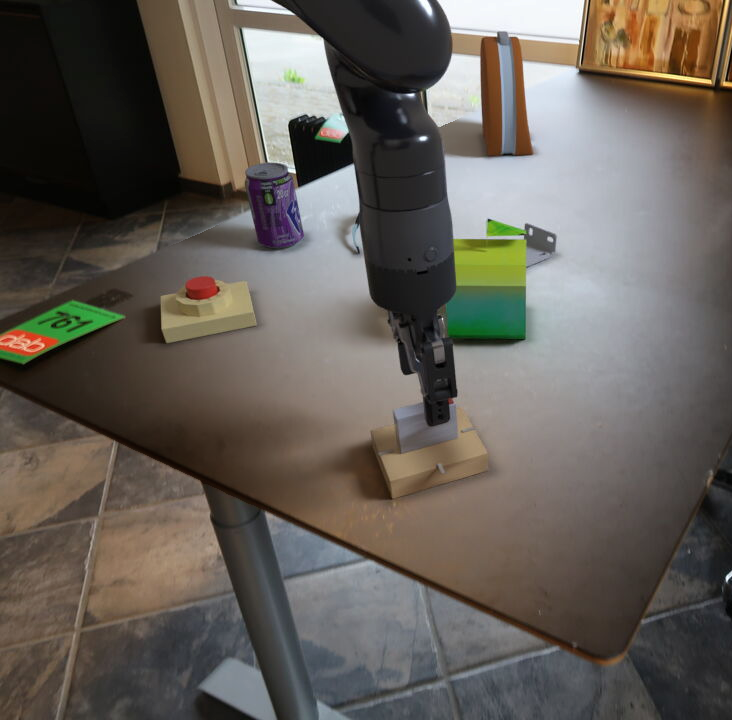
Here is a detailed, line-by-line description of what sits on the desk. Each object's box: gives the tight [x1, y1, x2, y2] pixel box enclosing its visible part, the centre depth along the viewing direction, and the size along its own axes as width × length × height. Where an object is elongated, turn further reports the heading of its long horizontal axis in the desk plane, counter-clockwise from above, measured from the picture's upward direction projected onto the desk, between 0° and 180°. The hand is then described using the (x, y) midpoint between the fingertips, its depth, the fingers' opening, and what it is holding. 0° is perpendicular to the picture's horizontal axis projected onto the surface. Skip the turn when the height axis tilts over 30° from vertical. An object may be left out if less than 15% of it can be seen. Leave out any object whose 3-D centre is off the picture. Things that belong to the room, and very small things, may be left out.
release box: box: [160, 279, 258, 344], centre depth 93 cm, size 11×9×4 cm
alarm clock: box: [479, 30, 535, 157], centre depth 148 cm, size 22×10×23 cm, turn 8°
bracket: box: [523, 222, 558, 268], centre depth 109 cm, size 7×10×4 cm, turn 140°
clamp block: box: [370, 406, 489, 500], centre depth 72 cm, size 10×10×3 cm
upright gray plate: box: [392, 398, 458, 454], centre depth 70 cm, size 6×2×5 cm, turn 114°
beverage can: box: [244, 162, 305, 249], centre depth 110 cm, size 7×7×12 cm
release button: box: [184, 275, 218, 300], centre depth 92 cm, size 4×4×2 cm
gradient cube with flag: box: [445, 218, 527, 340], centre depth 90 cm, size 11×10×15 cm
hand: (424, 396), depth 68 cm, fingers open, 8 cm apart
